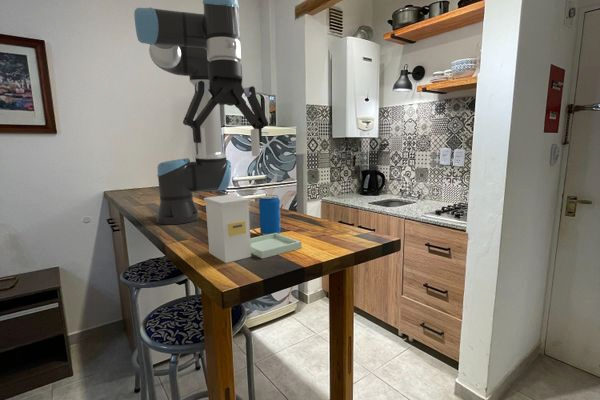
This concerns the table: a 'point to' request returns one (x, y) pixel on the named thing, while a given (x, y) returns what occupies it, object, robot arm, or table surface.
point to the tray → (273, 245)
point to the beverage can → (269, 214)
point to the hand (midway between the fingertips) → (230, 157)
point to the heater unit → (228, 227)
